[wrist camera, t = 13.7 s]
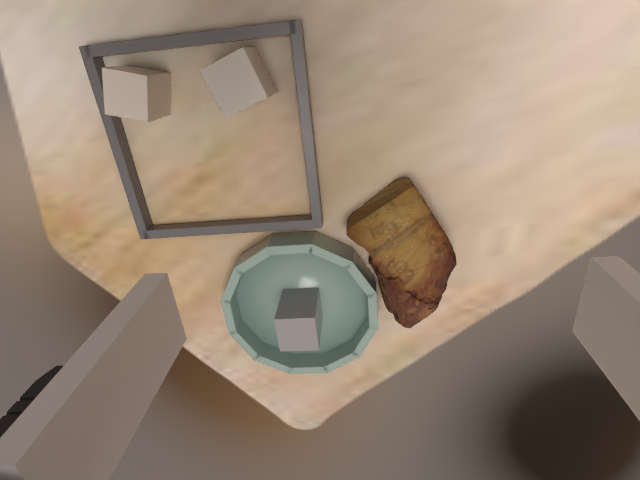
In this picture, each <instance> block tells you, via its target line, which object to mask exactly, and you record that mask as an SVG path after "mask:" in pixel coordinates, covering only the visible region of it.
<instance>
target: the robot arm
mask: <svg viewBox="0 0 640 480" xmlns="http://www.w3.org/2000/svg"><path fill="white" fill-rule="evenodd" d="M572 331H573V333H574V334H575V335H576V337H577V338H578V339H579V341H580V342H581V343H582V345H583V346H584V347H585V349H586V350H587V351H588V352H589V354H590V355H591V356H592V358H593V359H594V361H595V362H596V363H597V365H598V366H599V367H600V369H601V370H602V371H603V373H604V374H605V375H606V377H607V378H608V379H609V381H610V382H611V383H612V384H613V386H614V387H615V388H616V390H617V391H618V392H619V394H620V395H621V396H622V398H623V399H624V400H625V402H626V403H627V404H628V405H629V407H630V408H631V410H632V411H633V412H634V414H635V415H636V416H637V418H638V419H639V420H640V274H639V273H638V272H637V271H635V270H634V269H633V268H632V267H631V266H629V265H628V264H627V263H626V262H625V261H623V260H622V259H621V258H620V257H591V259H590V262H589V266H588V270H587V275H586V278H585V282H584V286H583V291H582V294H581V298H580V302H579V307H578V311H577V315H576V319H575V322H574V327H573V330H572ZM186 339H187V338H186V335H185V331H184V328H183V325H182V321H181V318H180V315H179V311H178V308H177V305H176V301H175V298H174V295H173V291H172V288H171V285H170V281H169V278H168V275H167V273H155V274H144V276H143V277H142V278H141V279H140V280H139V281H138V282H137V284H136V285H135V286H134V287H133V288H132V289H131V290H130V291H129V293H128V294H127V295H126V296H125V297H124V298H123V299H122V301H121V302H120V303H119V304H118V305H117V306H116V307H115V309H114V310H113V311H112V312H111V313H110V314H109V315H108V316H107V318H106V319H105V320H104V321H103V322H102V323H101V324H100V325H99V327H98V328H97V329H96V330H95V331H94V332H93V333H92V334H91V336H90V337H89V338H88V339H87V340H86V341H85V342H84V344H83V345H82V346H81V347H80V348H79V349H78V350H77V352H76V353H75V354H74V355H73V356H72V357H71V358H70V359H69V361H68V362H67V363H66V364H65V365H64V366H56V367H54V368H53V369H52V370H50V371H49V372H47V373H46V374H45V375H43V376H42V377H40V378H39V379H38V380H36V381H35V382H34V383H33V384H32V385H31V387H30V388H29V389H28V390H27V391H26V392H25V393H24V394H23V395H22V396H21V398H20V401H17V402H16V403H15V404H14V405H13V406H12V407H11V408H10V409H9V410H8V411H7V415H6V416H3V417H2V418H1V419H0V480H109V478H110V476H111V474H112V472H113V471H114V469H115V467H116V465H117V463H118V462H119V460H120V458H121V456H122V454H123V453H124V451H125V449H126V447H127V445H128V443H129V442H130V440H131V438H132V436H133V435H134V433H135V431H136V429H137V427H138V425H139V424H140V422H141V420H142V418H143V416H144V415H145V413H146V411H147V409H148V407H149V406H150V404H151V402H152V400H153V398H154V397H155V395H156V393H157V391H158V389H159V388H160V386H161V384H162V382H163V380H164V378H165V377H166V375H167V373H168V371H169V369H170V368H171V366H172V364H173V362H174V360H175V359H176V357H177V355H178V353H179V351H180V349H181V348H182V346H183V344H184V342H185V341H186Z"/></svg>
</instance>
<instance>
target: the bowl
mask: <svg viewBox="0 0 640 480" xmlns="http://www.w3.org/2000/svg"><path fill="white" fill-rule="evenodd" d="M315 287H319V291H320V299H321V308H322V317H323V319H322V328H321V337H320V346H319V350H315V351H280V349H279V344H278V338H277V333H276V327H275V321H274V318H275V314H276V311H277V308H278V304H279V301H280V297H281V294H282V290H283V289H293V288H315ZM221 304H222V308H223V312H224V316H225V320H226V324H227V328H228V333H229V335H230V336H231V337H232V338H233V339H234V340H235V341H236V342H237V343H238V344H239V345H240V346H241V347H242V348H243V349H244V350H245V351H246V352H247V353H248V354H249V355H250V356H251V357H252V358H253V359H254V360H255V361H258V362H260V363H263V364H265V365H268V366H270V367H273V368H276V369H278V370H281V371H283V372H286V373H288V374H307V373H328V372H330V371H332V370H335V369H337V368H339V367H341V366H343V365H345V364H347V363H349V362H351V361H353V360H355V359H357V358H359V357H360V356H361V354H362V353H363V351H364V350H365V348H366V347H367V345H368V344H369V342H370V341H371V339H372V338H373V336H374V335H375V333H376V332H377V330H378V311H377V292H376V282H375V277H374V276H373V274H372V273H371V272H370V270H369V269H368V268H367V266H366V265H365V264H364V262H363V261H362V260H361V258H360V257H359V256H358V254H357V253H356V252H355V250H354V249H353V248H352V247H350V246H348V245H346V244H343V243H341V242H339V241H337V240H334V239H332V238H330V237H327V236H325V235H323V234H321V233H318V232H316V231H303V232H287V233H273V234H271V235H270V236H268V237H267V238H265V239H264V240H262V241H261V242H259V243H258V244H256V245H255V246H253V247H252V248H250V249H248V250H247V251H245V252H244V253H242V254H241V256H240V258H239V260H238V262H237V264H236V266H235V267H234V269H233V272H232V274H231V277H230V279H229V282H228V284H227V287H226V289H225V291H224V294H223V296H222V299H221Z"/></svg>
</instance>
